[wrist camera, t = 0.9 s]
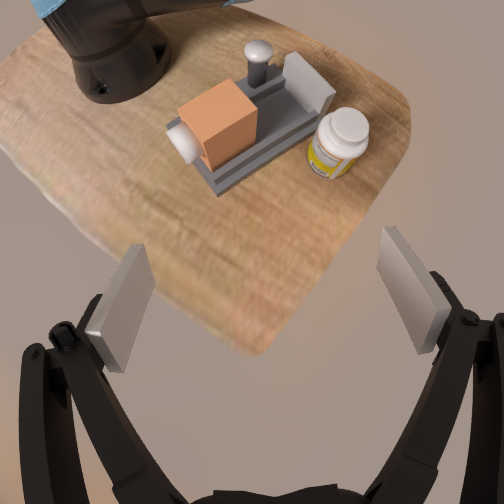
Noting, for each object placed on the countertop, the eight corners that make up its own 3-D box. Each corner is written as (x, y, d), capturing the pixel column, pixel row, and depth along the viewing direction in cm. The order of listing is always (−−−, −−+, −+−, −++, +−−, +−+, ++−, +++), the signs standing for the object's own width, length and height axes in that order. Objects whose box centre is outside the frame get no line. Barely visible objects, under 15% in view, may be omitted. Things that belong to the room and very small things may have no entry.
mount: (168, 130, 37) (153, 101, 30) (273, 69, 38) (277, 35, 31) (217, 197, 36) (210, 178, 29) (326, 126, 37) (341, 97, 30)
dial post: (239, 79, 36) (239, 46, 29) (259, 69, 36) (261, 36, 29) (254, 95, 36) (255, 62, 29) (273, 84, 36) (278, 51, 29)
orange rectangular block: (177, 154, 35) (159, 121, 26) (232, 119, 35) (229, 78, 27) (198, 183, 35) (184, 155, 26) (255, 146, 35) (257, 108, 26)
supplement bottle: (345, 142, 37) (373, 104, 27) (348, 182, 37) (380, 152, 27) (303, 138, 37) (321, 96, 27) (305, 179, 37) (325, 146, 27)
